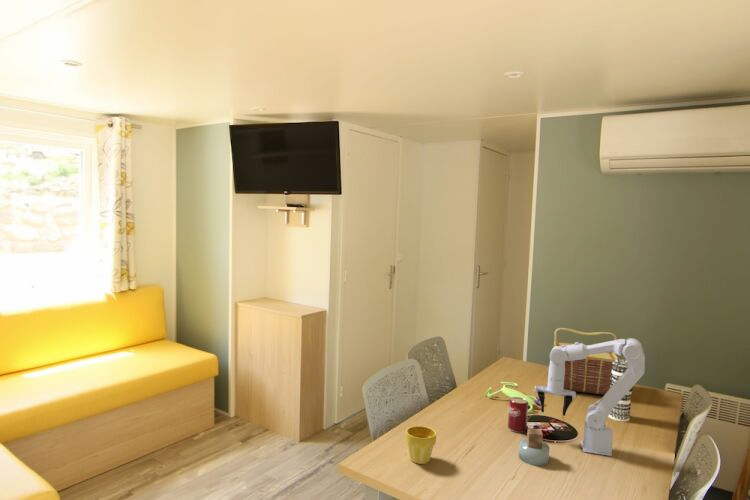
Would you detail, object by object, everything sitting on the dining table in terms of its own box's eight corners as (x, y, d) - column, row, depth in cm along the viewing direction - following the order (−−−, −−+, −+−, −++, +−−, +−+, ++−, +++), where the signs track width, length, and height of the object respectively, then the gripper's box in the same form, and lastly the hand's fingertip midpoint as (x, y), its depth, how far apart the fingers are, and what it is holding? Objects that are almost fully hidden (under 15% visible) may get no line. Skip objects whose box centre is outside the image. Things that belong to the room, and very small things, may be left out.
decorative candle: (606, 418, 205) (610, 361, 204) (607, 411, 213) (611, 356, 212) (630, 423, 201) (635, 365, 199) (630, 416, 209) (634, 360, 208)
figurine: (506, 389, 238) (507, 378, 238) (551, 408, 216) (552, 396, 215) (479, 395, 228) (480, 383, 228) (524, 415, 206) (524, 403, 206)
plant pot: (415, 449, 171) (417, 422, 171) (440, 459, 165) (442, 431, 164) (398, 459, 163) (400, 431, 163) (424, 470, 157) (425, 441, 156)
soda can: (513, 433, 187) (515, 404, 186) (504, 426, 194) (505, 397, 193) (530, 432, 189) (532, 402, 188) (519, 424, 196) (521, 396, 195)
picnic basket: (552, 392, 234) (556, 332, 232) (549, 376, 259) (553, 322, 257) (618, 401, 226) (622, 339, 224) (608, 384, 251) (612, 328, 249)
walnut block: (540, 443, 169) (540, 429, 169) (541, 449, 165) (542, 435, 165) (526, 441, 170) (527, 427, 170) (528, 447, 166) (529, 433, 165)
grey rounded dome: (547, 454, 171) (548, 441, 171) (549, 468, 162) (550, 454, 161) (518, 450, 174) (519, 436, 174) (519, 463, 164) (519, 449, 164)
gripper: (575, 377, 184) (571, 412, 185) (535, 372, 187) (532, 406, 188) (577, 383, 177) (574, 419, 178) (536, 378, 181) (533, 412, 182)
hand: (553, 413), depth 183 cm, fingers open, 7 cm apart
